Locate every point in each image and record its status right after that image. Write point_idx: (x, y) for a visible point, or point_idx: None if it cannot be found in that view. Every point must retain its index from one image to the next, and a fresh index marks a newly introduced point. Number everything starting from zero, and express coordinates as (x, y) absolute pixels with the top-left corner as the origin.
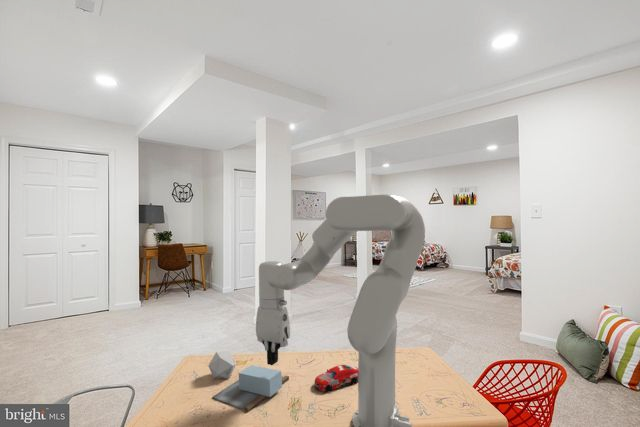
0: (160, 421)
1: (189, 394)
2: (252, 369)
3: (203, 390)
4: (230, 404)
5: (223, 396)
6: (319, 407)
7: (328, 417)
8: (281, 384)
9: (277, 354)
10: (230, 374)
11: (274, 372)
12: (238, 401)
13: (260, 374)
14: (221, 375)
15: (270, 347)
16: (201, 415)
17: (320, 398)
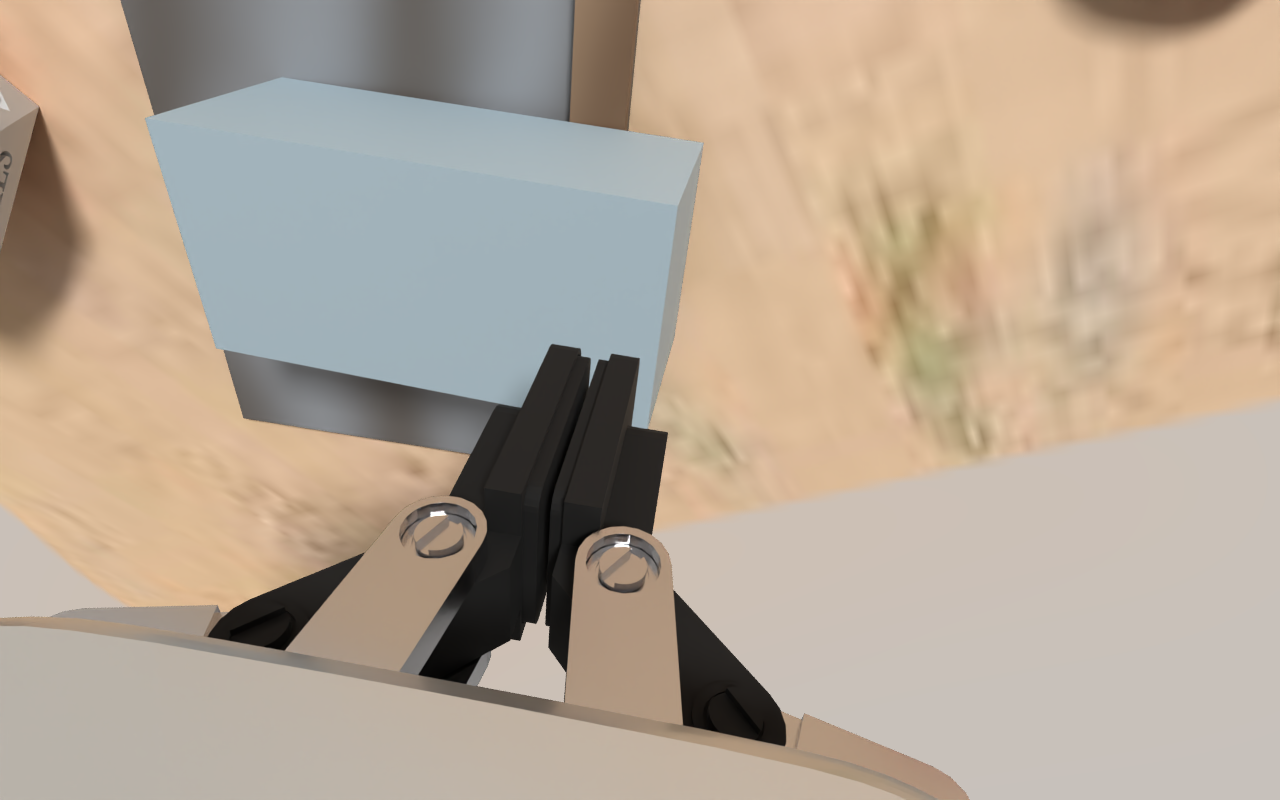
0: None
1: (82, 419)
2: (279, 243)
3: (97, 353)
4: (427, 442)
5: (306, 394)
6: (1180, 259)
7: (1268, 361)
8: (698, 163)
9: (655, 504)
10: (9, 101)
11: (607, 266)
12: (454, 411)
13: (469, 343)
14: (6, 221)
15: (490, 630)
16: (365, 549)
17: (1196, 102)
